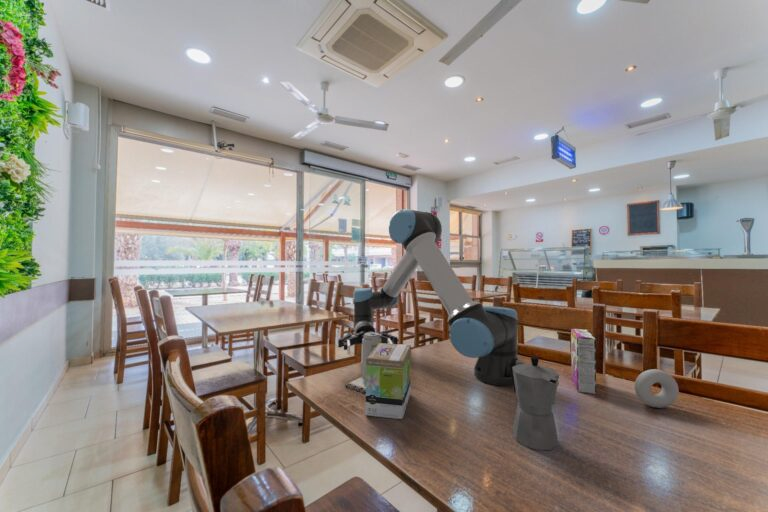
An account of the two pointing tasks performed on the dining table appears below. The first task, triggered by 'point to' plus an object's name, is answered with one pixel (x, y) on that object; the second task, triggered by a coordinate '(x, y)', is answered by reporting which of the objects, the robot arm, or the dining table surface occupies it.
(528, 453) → the dining table surface
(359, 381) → the pad
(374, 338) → the energy drink can
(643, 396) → the donut
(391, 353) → the tea box
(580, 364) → the candy bar box
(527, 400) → the coffeepot
